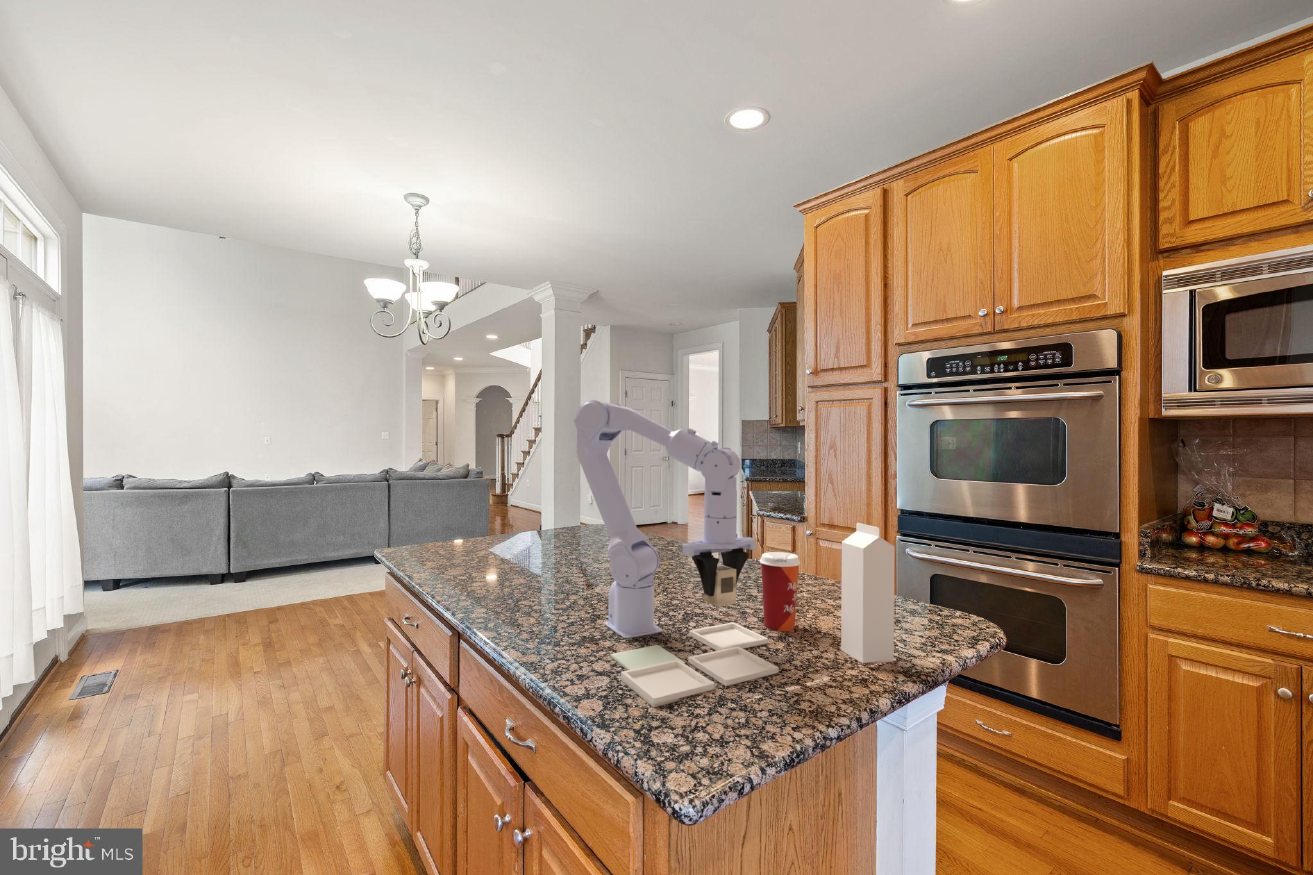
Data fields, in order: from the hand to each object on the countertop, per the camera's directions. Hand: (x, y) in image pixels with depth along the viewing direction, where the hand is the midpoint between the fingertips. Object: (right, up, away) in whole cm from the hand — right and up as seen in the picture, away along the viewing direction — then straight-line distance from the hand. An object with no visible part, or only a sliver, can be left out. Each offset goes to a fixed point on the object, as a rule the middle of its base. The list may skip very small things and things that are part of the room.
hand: (719, 593), depth 101 cm
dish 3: (+1, -9, -12) cm, 15 cm away
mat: (-13, -9, -8) cm, 17 cm away
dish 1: (-10, -9, -18) cm, 22 cm away
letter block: (0, -2, 0) cm, 2 cm away
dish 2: (+2, -9, +1) cm, 9 cm away
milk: (+24, -9, -6) cm, 26 cm away
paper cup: (+12, -9, +8) cm, 18 cm away
